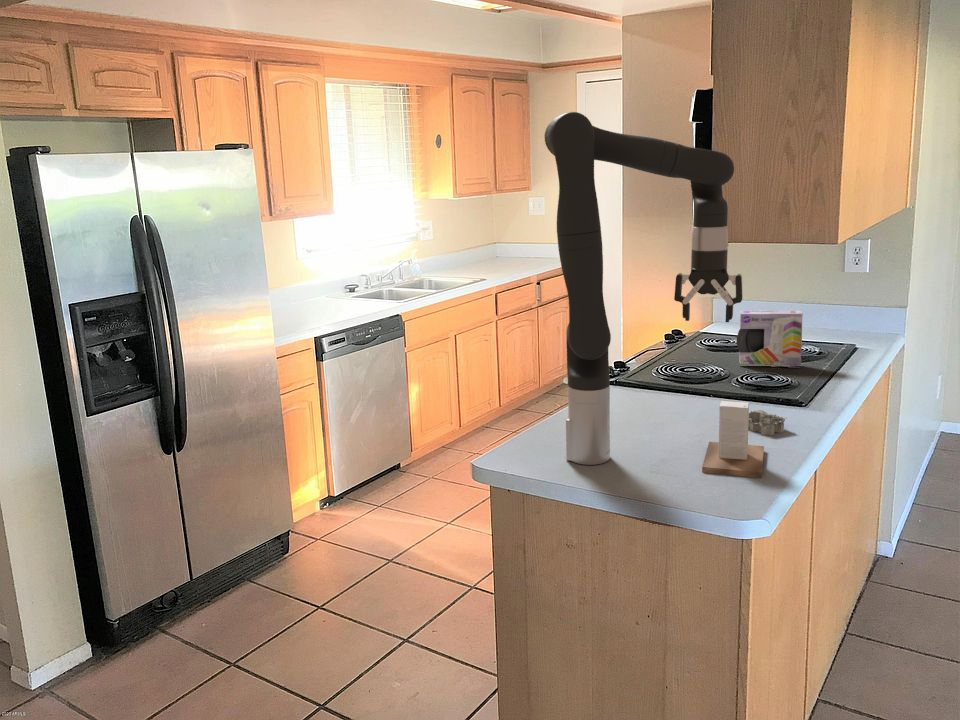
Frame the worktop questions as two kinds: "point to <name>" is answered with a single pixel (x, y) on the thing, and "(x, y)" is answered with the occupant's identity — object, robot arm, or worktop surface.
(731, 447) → the skincare box
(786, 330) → the cake pan box
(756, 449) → the wooden board
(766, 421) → the egg carton
